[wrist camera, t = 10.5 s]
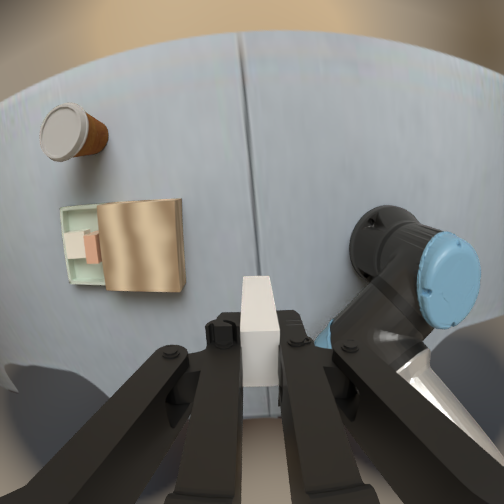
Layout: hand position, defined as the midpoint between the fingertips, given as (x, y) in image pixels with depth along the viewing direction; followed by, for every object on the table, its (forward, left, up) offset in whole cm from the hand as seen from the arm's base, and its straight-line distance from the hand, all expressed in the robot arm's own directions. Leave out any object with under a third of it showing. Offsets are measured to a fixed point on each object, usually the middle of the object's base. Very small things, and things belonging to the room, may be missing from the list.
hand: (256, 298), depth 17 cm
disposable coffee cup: (+29, -16, -35) cm, 48 cm away
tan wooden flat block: (+19, +4, -34) cm, 39 cm away
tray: (+31, +4, -34) cm, 46 cm away
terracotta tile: (+26, +4, -31) cm, 41 cm away
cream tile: (+33, +3, -31) cm, 45 cm away
